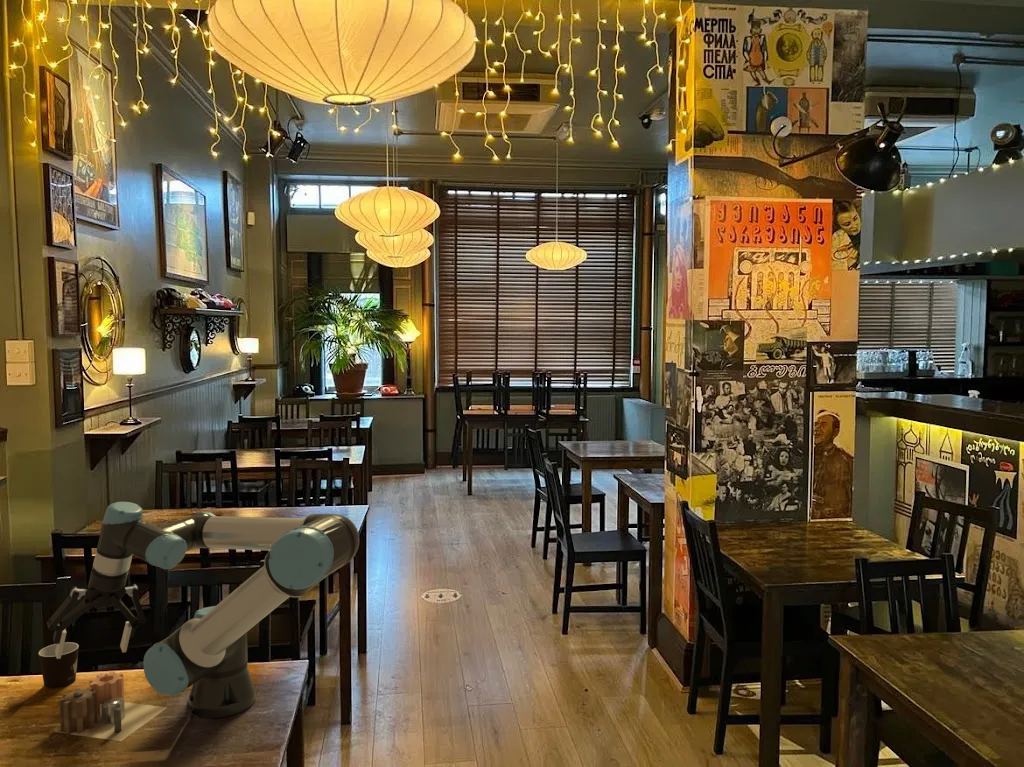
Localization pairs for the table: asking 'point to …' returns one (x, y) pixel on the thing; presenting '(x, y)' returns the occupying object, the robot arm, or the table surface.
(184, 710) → the table surface
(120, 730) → the carrier
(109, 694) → the planet gear
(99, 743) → the table surface
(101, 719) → the sun gear
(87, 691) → the pinned planet gear
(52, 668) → the coffee mug
